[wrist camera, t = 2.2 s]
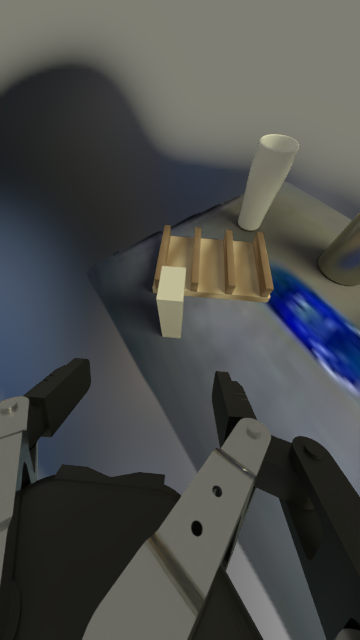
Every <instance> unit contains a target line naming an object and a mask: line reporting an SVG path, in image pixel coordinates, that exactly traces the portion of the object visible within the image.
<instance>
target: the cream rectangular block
mask: <svg viewBox="0 0 360 640" xmlns="http://www.w3.org/2000/svg"><path fill="white" fill-rule="evenodd" d="M185 277H186V268H182V267H169V266H162V270H161V275H160V281H159V287H158V293H157V299H156V300H157V306H158V312H159V318H160V325H161V331H162V337H173V338H181V328H182V317H183V304H184V290H185Z"/></svg>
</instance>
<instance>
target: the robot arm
mask: <svg viewBox="0 0 360 640" xmlns="http://www.w3.org/2000/svg"><path fill="white" fill-rule="evenodd" d="M318 265H319V268H320V270H321V271H322V272H323V274H324V275H325V276H327V277H328V278H329V279H331V280H333V281H334V282H337V283H339V284H342V285H348V286H354V285H358V284H360V213H359V214H358V215H357V216H356V217H355V218H354V219H353V220H352V222H351V223H350V224H349V225H348V226H347V227H346V228H345V229H344V230H343V231H342V233H341V234H340V235H339V236H338V237H337V238H336V239H335V240H334V241H333V243H332V244H331V245H330V246H329V247H328V248H327V249H326V250H325V251H324V252H323V254H322V255H321V256H320V257H319V259H318ZM90 383H91V376H90V363H89V360H88V359H79V358H75V359H73V360H72V361H71V362H69V363H68V364H67V365H64V366H62V367H60V368H58V369H56V370H55V371H53V372H52V373H51V374H50V375H49V376H47V377H46V378H45V379H44V380H43V381H41V382H40V383H39V384H37V385H36V386H35V387H33V388H32V389H31V390H30V391H29V392H27V393H26V394H25V395H24V396H18V397H12V398H9V399H6V400H3V401H1V402H0V640H263V638H262V636H261V634H260V633H259V631H258V629H257V627H256V625H255V623H254V622H253V620H252V618H251V616H250V614H249V613H248V611H247V609H246V608H245V605H244V604H243V602H242V600H241V598H240V596H239V595H238V593H237V591H236V589H235V587H234V585H233V584H232V582H231V580H230V578H229V576H228V575H227V573H226V570H227V567H228V564H229V561H230V559H231V556H232V554H233V551H234V548H235V545H236V542H237V539H238V536H239V533H240V530H241V528H242V525H243V522H244V519H245V517H246V514H247V511H248V509H249V506H250V503H251V501H252V498H253V495H254V493H255V490H256V487H257V488H259V489H261V490H263V491H265V492H268V493H270V494H272V495H274V496H276V497H278V498H279V500H280V503H281V506H282V509H283V512H284V515H285V518H286V521H287V524H288V527H289V530H290V533H291V536H292V539H293V542H294V545H295V548H296V551H297V553H298V556H299V559H300V562H301V565H302V568H303V571H304V574H305V577H306V580H307V583H308V586H309V589H310V592H311V595H312V598H313V601H314V604H315V607H316V610H317V613H318V616H319V619H320V622H321V625H322V627H323V630H324V633H325V636H326V639H327V640H360V497H359V495H358V494H357V492H356V491H355V489H354V488H353V487H352V485H351V484H350V482H349V481H348V479H347V478H346V476H345V475H344V473H343V472H342V470H341V469H340V468H339V466H338V465H337V463H336V462H335V460H334V459H333V457H332V456H331V454H330V453H329V452H328V451H327V450H326V449H325V448H324V447H323V446H322V445H321V444H319V443H318V442H316V441H314V440H312V439H310V438H307V437H303V436H298V437H295V438H294V439H293V441H292V443H290V442H287V441H285V440H282V439H279V438H276V437H274V436H272V435H271V434H270V432H269V430H268V429H267V427H266V426H265V425H264V424H262V423H261V422H259V421H257V419H256V416H255V414H254V412H253V410H252V407H251V405H250V403H249V401H248V398H247V396H246V395H245V391H244V389H243V387H242V386H241V385H240V384H239V383H238V382H237V381H231V378H230V375H229V373H228V372H219V371H216V372H215V378H214V384H213V391H212V404H213V410H214V416H215V422H216V427H217V433H218V439H219V445H220V450H219V449H218V448H216V449H215V450H214V451H213V452H212V453H211V455H210V456H209V458H208V459H207V461H206V462H205V463H204V465H203V466H202V468H201V469H200V471H199V472H198V473H197V475H196V476H195V478H194V479H193V481H192V482H191V483H190V485H189V486H188V488H187V489H186V491H185V492H184V493H183V495H182V496H181V495H180V494H179V493H177V492H176V491H175V490H173V489H172V488H170V487H168V486H166V485H164V479H165V475H162V474H153V473H143V472H138V473H132V474H127V475H121V476H116V477H109V476H106V475H104V474H102V473H99V472H97V471H95V470H93V469H91V468H89V467H83V466H72V465H62V466H61V467H60V469H59V470H58V472H57V474H56V475H52V476H49V477H45V478H43V479H40V480H38V481H37V464H38V443H37V441H38V439H39V438H40V437H41V436H43V437H52V436H53V435H54V433H55V432H56V431H57V429H58V428H59V427H60V425H61V424H62V423H63V422H64V421H65V419H66V418H67V416H68V415H69V414H70V413H71V412H72V410H73V409H74V408H75V406H76V405H77V404H78V403H79V401H80V400H81V399H82V397H83V396H84V395H85V394H86V392H87V391H88V389H89V387H90Z"/></svg>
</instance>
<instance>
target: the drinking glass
mask: <svg viewBox="0 0 360 640" xmlns="http://www.w3.org/2000/svg"><path fill="white" fill-rule="evenodd" d="M299 147H300V146H299V143H298V142H297V141H296V140H295V139H293V138H291V137H288V136H284V135H279V134H270V135H265V136H263V137H261V139H260V140H259V143H258V146H257V149H256V152H255V155H254V158H253V162H252V165H251V169H250V173H249V177H248V182H247V186H246V190H245V195H244V199H243V203H242V207H241V212H240V215H239V218H238V224H239V226H240V227H241V228H242V229H244V230H248V231H253V230H256V229H258V228H259V227H260V225H261V223H262V221H263V219H264V217H265V215H266V213H267V211H268V209H269V207H270V206H271V204H272V202H273V200H274V198H275V196H276V195H277V193H278V191H279V189H280V187H281V186H282V184H283V182H284V180H285V178H286V176H287V174H288V172H289V170H290V168H291V166H292V164H293V161H294V159H295V157H296V154H297V152H298V150H299Z"/></svg>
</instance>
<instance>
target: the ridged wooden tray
mask: <svg viewBox="0 0 360 640" xmlns="http://www.w3.org/2000/svg"><path fill="white" fill-rule="evenodd" d="M162 266H169V267H182V268H186V277H185V290H184V296H195V297H207V298H219V299H231V300H243V301H255V302H267V301H268V300H269V299H270V293H271V292H272V290H273V289H274V288H273V283H272V277H271V272H270V266H269V261H268V256H267V250H266V245H265V239H264V234H263V232H257V234H256V236H255V238H254V240H253V242H241V241H233V235H232V230H226V232H225V236H224V239H223V240H214V239H201V228H197V227H195V235H194V238H188V237H175V236H171V226H170V225H165V226H164V231H163V236H162V241H161V246H160V251H159V257H158V262H157V267H156V272H155V278H154V283H153V293H158V287H159V281H160V275H161V270H162Z"/></svg>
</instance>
